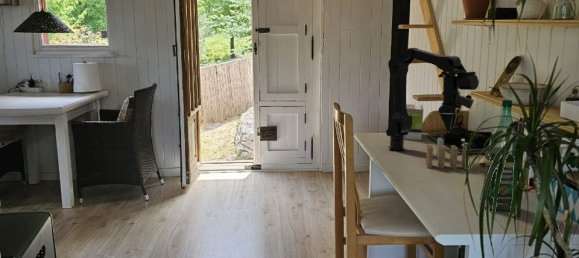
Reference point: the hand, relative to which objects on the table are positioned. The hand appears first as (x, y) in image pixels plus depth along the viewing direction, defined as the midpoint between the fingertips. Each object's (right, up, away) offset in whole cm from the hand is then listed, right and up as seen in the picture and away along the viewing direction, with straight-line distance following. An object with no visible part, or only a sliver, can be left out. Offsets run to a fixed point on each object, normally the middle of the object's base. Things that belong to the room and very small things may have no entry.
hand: (450, 129), depth 213 cm
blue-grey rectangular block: (-2, -12, +8) cm, 14 cm away
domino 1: (-10, -14, -4) cm, 18 cm away
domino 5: (+4, -15, -6) cm, 16 cm away
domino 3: (-5, -14, -5) cm, 16 cm away
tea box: (-5, -4, +48) cm, 49 cm away
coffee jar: (0, -24, -49) cm, 54 cm away
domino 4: (-1, -15, -5) cm, 16 cm away
